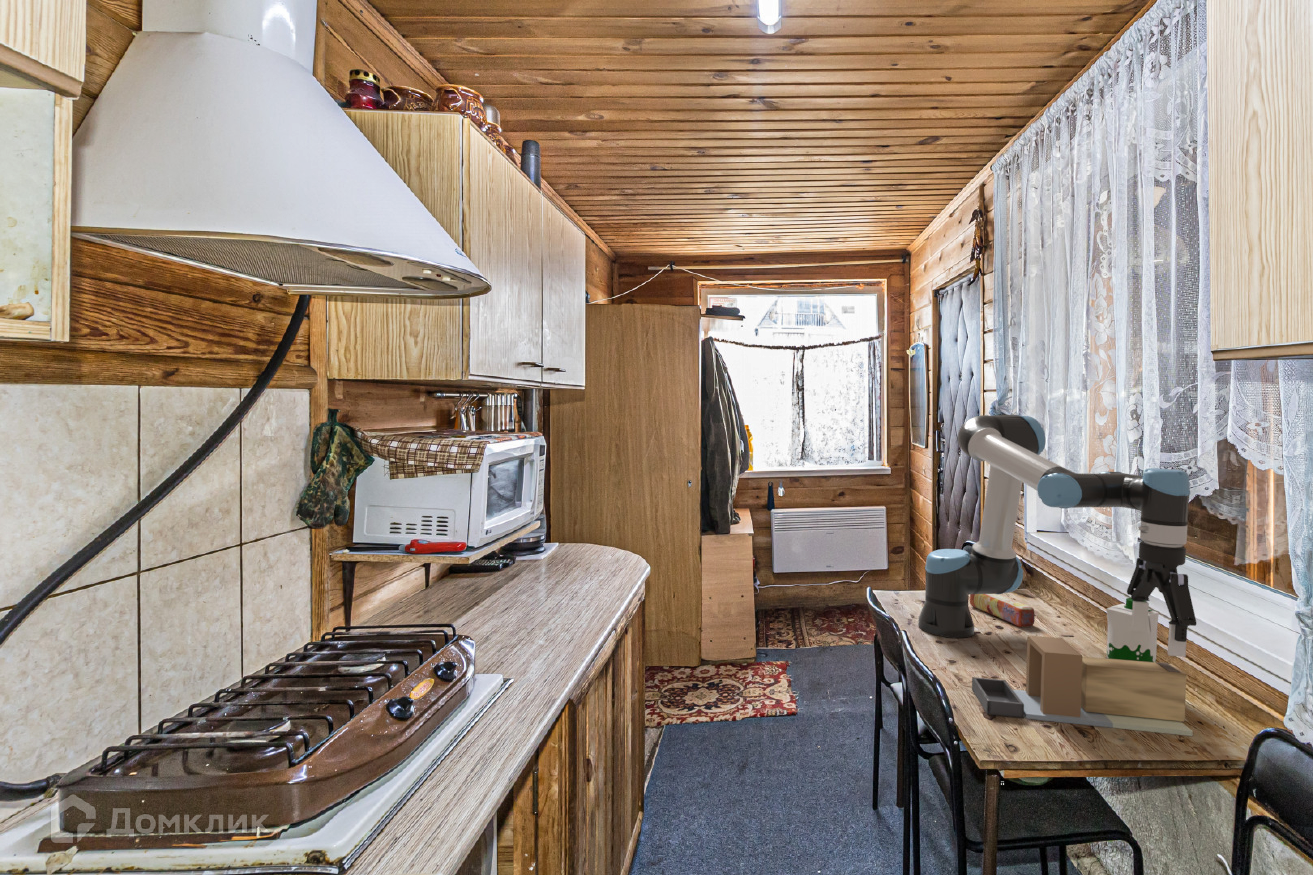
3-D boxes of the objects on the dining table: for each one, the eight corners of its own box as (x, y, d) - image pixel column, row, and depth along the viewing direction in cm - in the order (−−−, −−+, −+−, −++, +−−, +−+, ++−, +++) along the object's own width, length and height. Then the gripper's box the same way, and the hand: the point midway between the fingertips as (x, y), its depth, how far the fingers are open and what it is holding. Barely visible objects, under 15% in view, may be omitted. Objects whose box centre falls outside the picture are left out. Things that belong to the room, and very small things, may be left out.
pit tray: (971, 689, 142) (972, 677, 142) (1004, 692, 141) (1005, 680, 141) (987, 714, 131) (987, 700, 131) (1023, 718, 129) (1024, 704, 129)
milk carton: (1160, 687, 144) (1163, 603, 143) (1141, 696, 140) (1145, 609, 139) (1117, 673, 152) (1120, 594, 151) (1098, 681, 147) (1101, 599, 146)
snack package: (1037, 627, 185) (1037, 605, 185) (1018, 629, 183) (1019, 606, 183) (984, 605, 206) (985, 585, 205) (967, 607, 204) (968, 587, 204)
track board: (1007, 693, 141) (1009, 632, 140) (1158, 707, 134) (1160, 644, 133) (1026, 718, 129) (1028, 652, 128) (1192, 736, 122) (1195, 666, 122)
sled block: (1075, 700, 134) (1076, 654, 134) (1170, 709, 130) (1172, 662, 130) (1085, 711, 130) (1087, 664, 129) (1184, 721, 125) (1186, 672, 125)
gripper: (1111, 529, 140) (1107, 620, 142) (1177, 556, 116) (1171, 665, 117) (1149, 531, 139) (1144, 623, 140) (1224, 559, 114) (1217, 669, 116)
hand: (1156, 642), depth 129 cm, fingers open, 13 cm apart
